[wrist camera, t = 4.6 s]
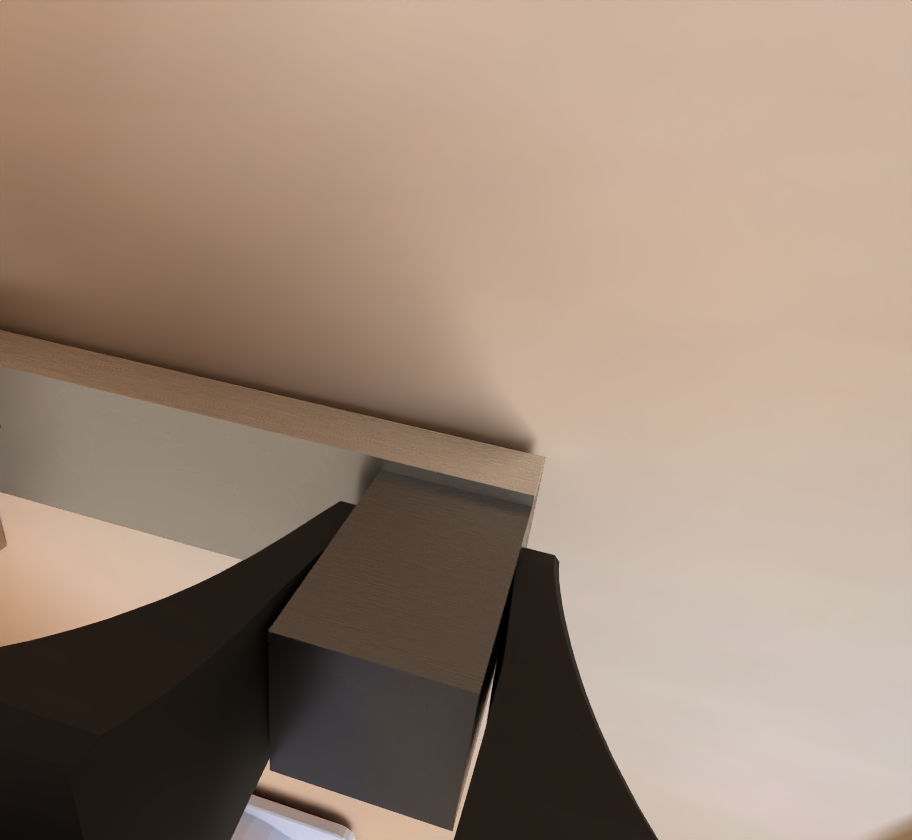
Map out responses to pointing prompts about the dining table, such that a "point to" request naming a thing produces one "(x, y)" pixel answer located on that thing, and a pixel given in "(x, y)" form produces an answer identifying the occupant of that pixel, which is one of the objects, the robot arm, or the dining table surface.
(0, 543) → the bearing block
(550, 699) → the robot arm
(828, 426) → the dining table surface
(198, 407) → the grey l-shaped bar
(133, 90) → the dining table surface
